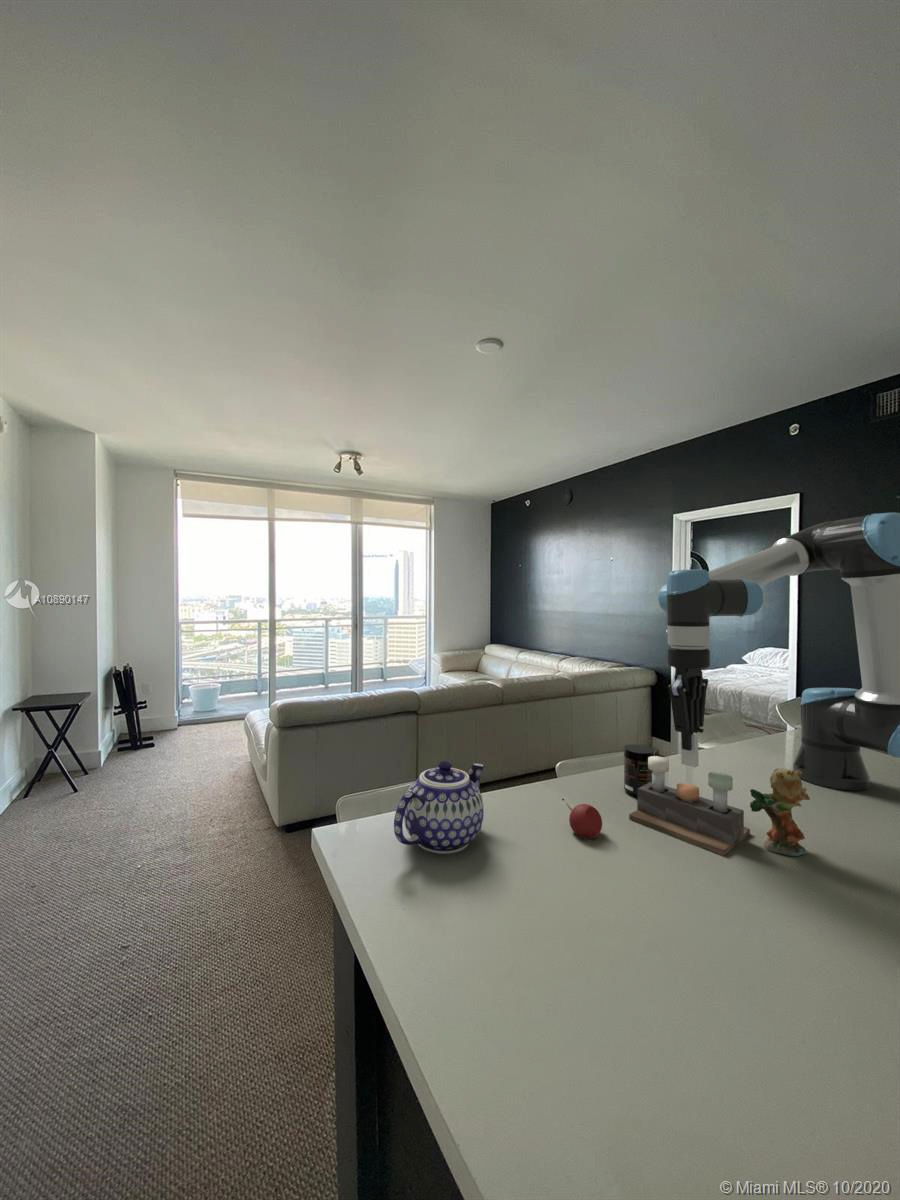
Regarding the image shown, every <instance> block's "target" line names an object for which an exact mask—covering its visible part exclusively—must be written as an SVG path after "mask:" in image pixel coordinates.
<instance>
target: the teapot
mask: <svg viewBox="0 0 900 1200" xmlns="http://www.w3.org/2000/svg"><path fill="white" fill-rule="evenodd" d="M484 767H485V765H483V764H482V763H472V764H471V766H470V768H469V771H468V773H467V772H466V771H464V770H462V769H458V768H455V767H453V764H452V763H451V761H447V760H442V761H439V762H438V764H437V767H434V768H433V767H432V768H429V769H426V770H424V771H422V772H421V773H420V774H419V776H418V778H417V779H416V780H415V781H414V782H413V783H412V784H411V785H410V786H409V788H408V789H407V791H406V792H405V793H404V794H403V795H402V796H401V798H400V800H399V803H398V805H397V807H396V810H395V815H394V820H393V832H394V836H395V838H396V840H398V842H399V843H401V844H403V845H406V846H414V845H418V846H419V847H420V848H421V849H423V850H424V851H426V852H430V853H433V854H439V855H451V854H455V853H459V852H461V851H463V850H465V849H466V848H467V847H468V845H469V844H470V843H472V842H473V841H474V840H475V839H476V838H477V836H478V835H479V834H480V831H481V829H482V827H483V826H482V825H483V821H484V802H483V801H484V800H483V797H482V793H481V791H480V782H481V775H482V772H483V769H484ZM403 823H404V825H405V826H404V827H405V828H406V831H407V833H408V835H409V836H410V837H409V838H406V837H405V836H404V831H403Z"/></svg>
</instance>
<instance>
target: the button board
mask: <svg viewBox="0 0 900 1200" xmlns="http://www.w3.org/2000/svg"><path fill="white" fill-rule="evenodd" d="M636 799H637V803H636V804H637V809H636V810H635V811H633V812H630V813H629V814H628V815H629V816H628V819H629V820H630V821H632V822H635V823H638V824H641V825H644V826H645V827H649V828H651V829H653V830H657V831H659V832H661V833H664V834H665V835H669V836H671V837H674V838H676V839H679V840H682V841H684V842H687V843H689V844H692V845H694V846H697V847H700V848H702V849H705V850H707V849H708V851H710V850H711V851H710V852H712V851H714V852H713V853H715V852H716V853H715V854H717V853H718V855H720V854H721V855H720V856H723V857H724V855H725V856H726V855H727V854H729V852H731V851H732V850H733V849H734V848H736V846H738V845H739V844H740V843H741V842H742V841H744V840H745V839H746V838H747V837H748V836H750V835H751V828H749V827H747V826H746V827H745V826H744V817H745V816H744V815H745V811H744V809H742V808H738V807H735V806H731V805H729V804H727V813H720V812H717V811H714V810H713V799H708V798H706V797H702V796H700V795H699V800H698V801H695V802H694V803H693V804H692V803H689V802H686V801H683V800H681V799H680V798H678V797H677V788H674V787H671V786H667V785H665V792H663V793H659V792H655V791H653V790H652V782H650V783H648V784H646V785H644V786H642V787H640V788H638V791H637V797H636ZM731 849H732V850H731Z"/></svg>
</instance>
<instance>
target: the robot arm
mask: <svg viewBox="0 0 900 1200" xmlns="http://www.w3.org/2000/svg"><path fill="white" fill-rule="evenodd" d="M829 570H831V571H834V570H835V571H836V570H839V572H840V573H839V574H840V579H841V580H842V581H844V582H846V583H847V584H849V586H850V592H851V599H852V609H853V617H854V618H853V619H854V627H855V636H856V644H857V652H858V660H859V670H860V677H861V678H860V679H861V688H860V689H857V688H849V687H810V688H809V687H808V688H806V689H804V690H803V691H802V693H801V703H800V713H801V714H800V727H801V728H800V729H801V730H800V731H801V732H800V733H801V734H800V737H801V741H800V742H801V744H800V746H799V749H798V751H797V754H796V756H795V759H794V761H793V763H792V771H797V770H800V772H802V774H801V776H800V779H801V780H803V781H806V782H808V783H811V784H814V785H816V786H817V785H818V786H821V787H825V788H829V789H830V788H831V789H836V790H843V791H865V790H868V789H870V787H871V785H870V783H871V779H870V775H869V772H868V770H867V767H866V765H865V763H864V759H863V756H862V755H861V748H863V749H867V750H871V751H874V752H877V753H881V754H884V755H888V756H890V757H892V758H897V759H899V758H900V512H883V513H881V512H880V513H872V514H868V515H862V516H861V515H860V516H856V517H850V518H843V519H838V520H837V519H836V520H830V521H825V522H821V523H817V524H815V525H812V526H810V527H807V528H804V529H803V530H800V531H798V532H794V533H793V534H790V535H788V536H785V537H783V538H780V539H779V540H776V541H775V542H774V543H773V545H771V547H768V548H766V549H763V550H760V551H759V552H756V553H753V554H750V555H747V556H745V557H742V558H740V559H738V560H735V561H733V562H730V563H727V564H724V565H722V566H720V567H716V568H714V569H711V570H709V571H708V570H706V569H699V568H698V569H676V570H671V571H670V572H669V573H668V574H667V580H666V584H664V585H663V586H661V588H660V590H659V592H658V594H657V599H658V600H657V601H658V604H659V607H660V608H661V609H662V610H663V611H664V612H666V613H667V614H666V616H667V617H666V619H667V620H666V621H667V622H666V623H667V629H666V630H665V633H666V634H667V644H668V645H669V646H670V647H668V648H667V664H668V666H670V667H673V668H674V669H675V670H674V676H673V679H674V683H673V684H668V685H667V690H668V693H669V696H670V702H671V710H672V711H671V712H672V719H673V724H674V725H673V726H674V730H675V732H676V733H677V732H678V733H680V756H681V757H680V761H681V762H680V764H681V765H684V766H688V767H692V768H697V767H699V733H701V734H703V733H704V729H703V727H704V721H705V710H706V699H707V689H708V686H709V679H708V678H704V677H703V671H702V669H703V670H704V669H707V668H710V666H711V651H710V649H709V648H707V647H709V646H710V645H711V638H710V637H711V636H710V635H711V634H710V633H711V632H710V617H711V618H712V617H740V618H741V617H744V616H752V615H754V614H755V615H756V613H758V611H760V610H761V608H762V607H763V604H764V591H763V589H762V587H761V586H763V585H765V584H768V583H770V582H772V581H775V580H778V579H780V578H783V577H785V576H791V577H792V576H793V577H794V576H798V575H799V576H800V575H802V574H804V573H807V572H808V573H809V572H816V571H829Z"/></svg>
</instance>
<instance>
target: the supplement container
mask: <svg viewBox="0 0 900 1200" xmlns="http://www.w3.org/2000/svg"><path fill="white" fill-rule="evenodd" d="M655 750H656V749H654V748H653V747H651V746H648V745H647V746H646V745H644V744H643V745H642V744H627V745H626V744H625V745H624V746H623V759H624V760H623V790H624V792H625V793H626V794H627V795H629V796H630V797H634V798H637V791H638V788H640V787H642V786H644V785H646V784H648V783H650V782H652V770H650V769H649V768H648V757H651V756H656V755H655V754H656V751H655Z"/></svg>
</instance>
